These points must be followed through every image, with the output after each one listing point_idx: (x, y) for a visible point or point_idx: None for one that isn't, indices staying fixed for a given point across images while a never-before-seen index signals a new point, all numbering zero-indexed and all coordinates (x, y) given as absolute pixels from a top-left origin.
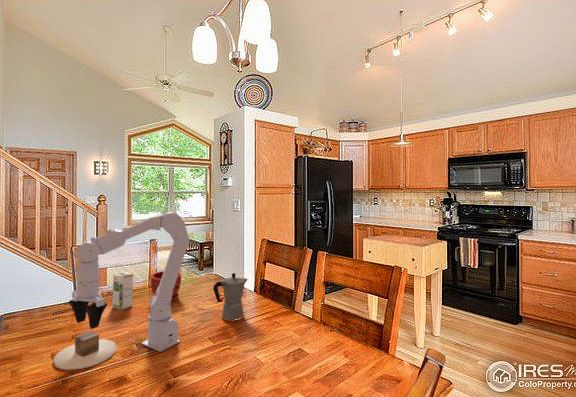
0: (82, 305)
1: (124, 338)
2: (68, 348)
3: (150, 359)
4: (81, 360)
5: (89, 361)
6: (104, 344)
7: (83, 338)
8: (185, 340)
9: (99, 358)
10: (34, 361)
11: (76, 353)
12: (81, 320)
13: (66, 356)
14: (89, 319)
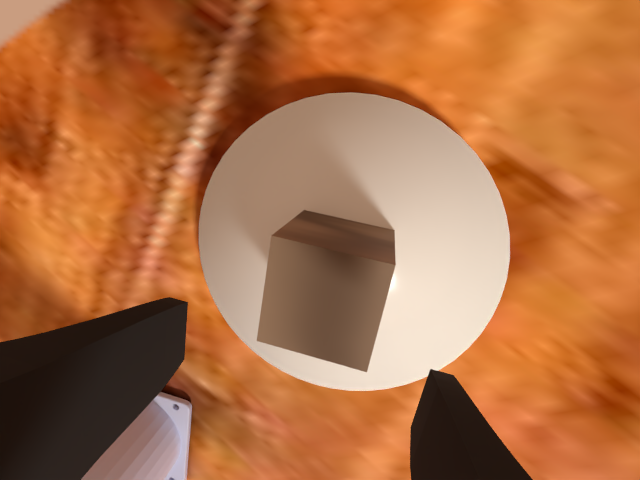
0: None
1: (312, 430)
2: (483, 254)
3: (63, 310)
4: (278, 181)
5: (231, 189)
6: None
7: (300, 261)
8: None
9: (214, 230)
10: (592, 84)
11: (375, 226)
12: (420, 410)
13: (402, 180)
14: (76, 336)
